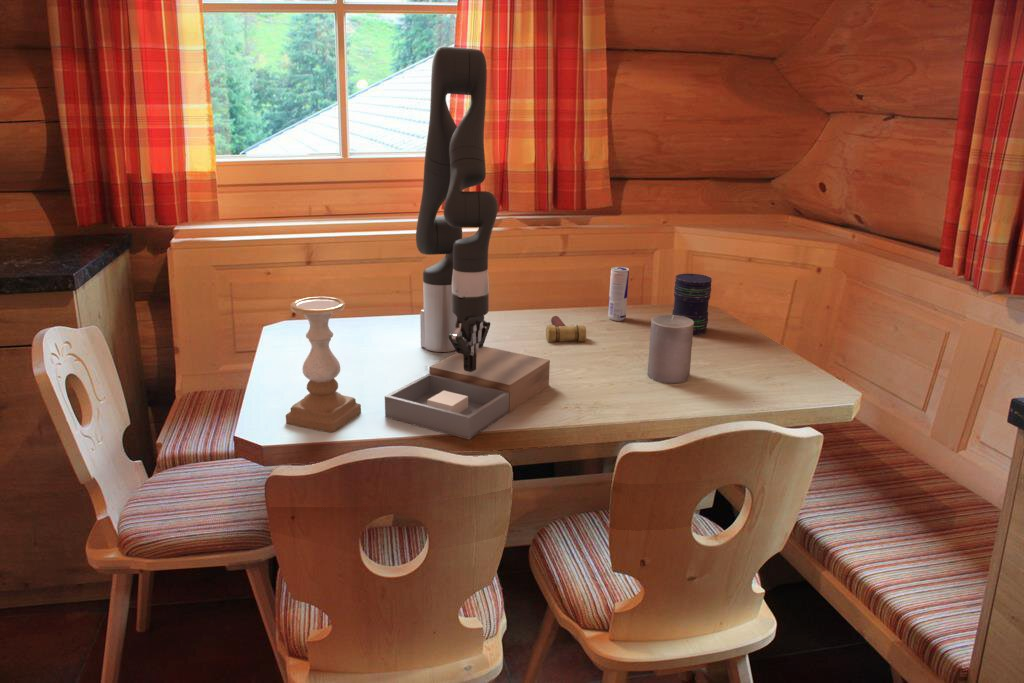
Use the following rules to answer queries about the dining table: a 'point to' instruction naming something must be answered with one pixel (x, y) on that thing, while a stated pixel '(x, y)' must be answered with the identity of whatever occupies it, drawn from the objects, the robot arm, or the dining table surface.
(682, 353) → the pillar candle
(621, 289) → the beverage can
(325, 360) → the candle holder
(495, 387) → the brown wooden box
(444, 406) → the tile
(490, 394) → the box
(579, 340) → the gavel
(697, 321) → the storage jar
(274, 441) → the dining table surface
